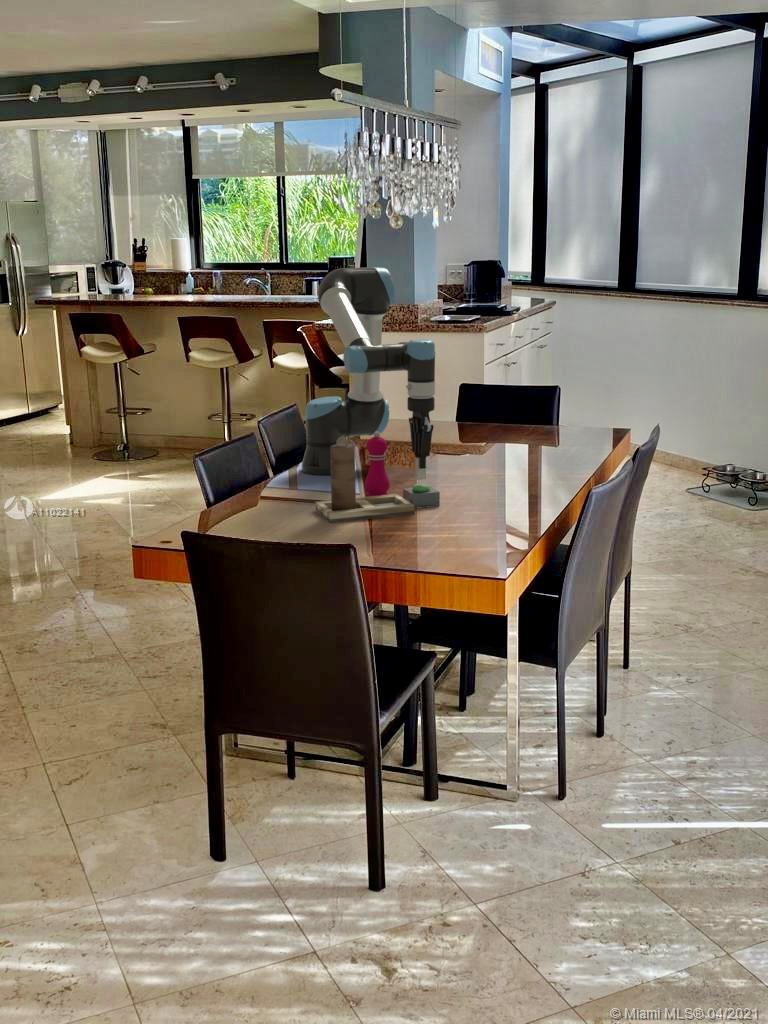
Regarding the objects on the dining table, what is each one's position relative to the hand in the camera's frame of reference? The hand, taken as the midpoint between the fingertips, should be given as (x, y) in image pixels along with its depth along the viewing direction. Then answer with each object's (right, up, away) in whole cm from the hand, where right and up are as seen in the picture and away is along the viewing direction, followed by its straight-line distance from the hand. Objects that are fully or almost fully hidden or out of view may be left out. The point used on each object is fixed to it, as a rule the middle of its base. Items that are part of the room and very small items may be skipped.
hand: (420, 478), depth 300 cm
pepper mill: (-12, -6, +7) cm, 15 cm away
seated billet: (-21, -10, -9) cm, 25 cm away
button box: (0, -7, +1) cm, 7 cm away
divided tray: (-16, -9, -7) cm, 20 cm away
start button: (0, -6, +1) cm, 6 cm away
